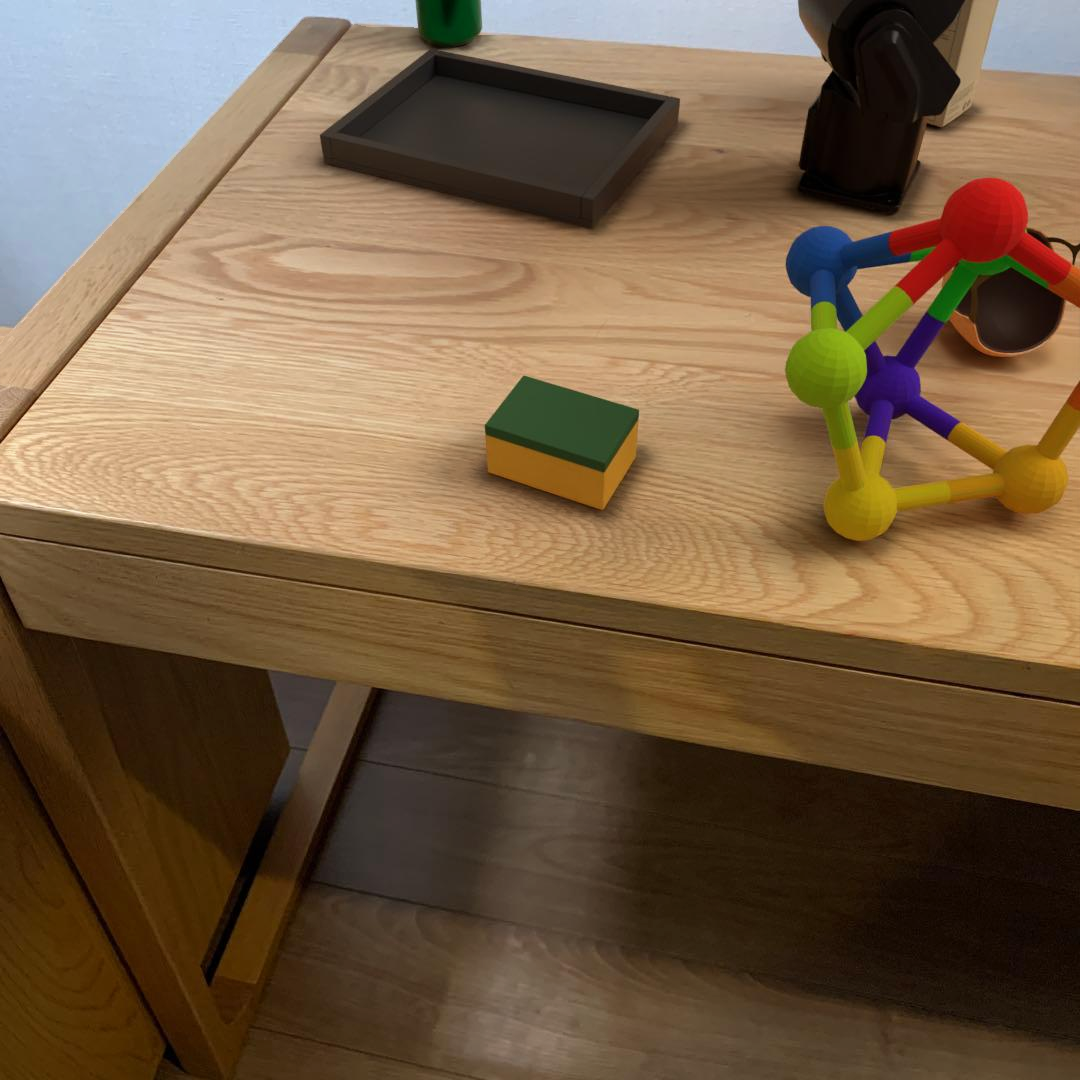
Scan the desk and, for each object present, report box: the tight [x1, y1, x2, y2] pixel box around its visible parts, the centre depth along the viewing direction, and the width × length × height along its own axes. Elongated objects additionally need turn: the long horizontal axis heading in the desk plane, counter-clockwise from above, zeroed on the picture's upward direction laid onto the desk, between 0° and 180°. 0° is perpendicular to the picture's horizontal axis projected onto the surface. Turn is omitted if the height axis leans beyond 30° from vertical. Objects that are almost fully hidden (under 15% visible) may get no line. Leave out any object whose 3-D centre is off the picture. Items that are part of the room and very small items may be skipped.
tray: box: [319, 48, 681, 230], centre depth 72 cm, size 20×15×2 cm
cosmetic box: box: [927, 0, 1000, 128], centre depth 71 cm, size 6×4×12 cm
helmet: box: [941, 226, 1080, 358], centre depth 54 cm, size 6×7×8 cm
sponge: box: [484, 375, 640, 511], centre depth 50 cm, size 4×6×3 cm, turn 64°
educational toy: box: [784, 177, 1080, 542], centre depth 45 cm, size 16×13×15 cm
